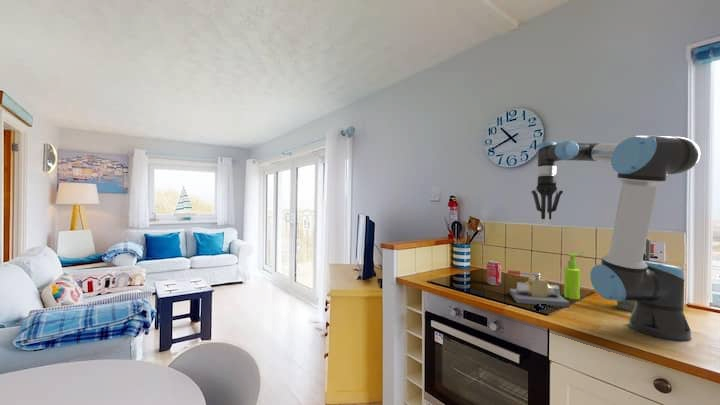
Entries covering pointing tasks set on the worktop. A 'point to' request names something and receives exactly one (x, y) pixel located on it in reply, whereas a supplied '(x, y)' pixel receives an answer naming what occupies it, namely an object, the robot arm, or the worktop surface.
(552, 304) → the plinth
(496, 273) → the soda can
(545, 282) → the valve body
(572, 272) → the soap dispenser
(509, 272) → the lever
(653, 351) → the worktop surface
